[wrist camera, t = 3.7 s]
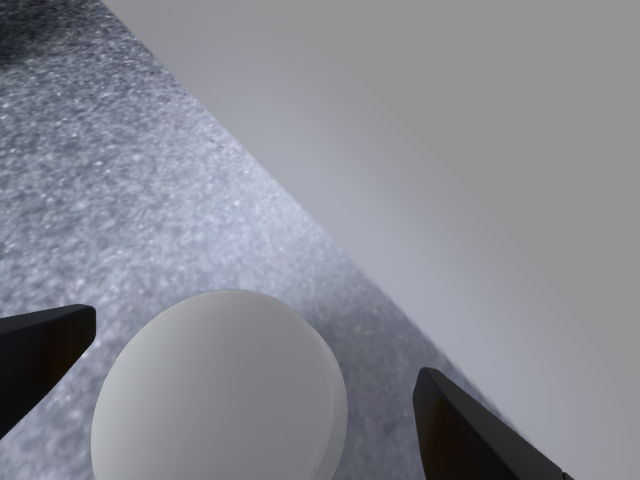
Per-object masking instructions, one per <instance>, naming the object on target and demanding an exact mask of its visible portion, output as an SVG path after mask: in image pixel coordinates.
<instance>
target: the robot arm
mask: <svg viewBox="0 0 640 480" xmlns="http://www.w3.org/2000/svg"><path fill="white" fill-rule="evenodd" d="M95 336H96V310H95V308H94V307H93V306H89V305H83V304H74V305H68V306H63V307H58V308H53V309H47V310H42V311H37V312H32V313H26V314H21V315H16V316H10V317H5V318H0V440H1V439H2V438H3V437H4V436H5V435H6V434H7V433H8V432H9V431H10V430H11V429H12V428H13V427H14V426H15V425H16V424H17V423H18V422H19V421H20V420H21V419H23V418H24V417H25V416H26V415H27V414H28V413H29V412H30V411H31V410H32V409H33V408H34V407H35V406H36V405H37V404H38V403H39V402H40V401H41V400H42V399H43V398H44V397H45V396H46V395H47V394H48V393H49V392H50V391H51V390H52V389H53V387H54V386H55V385H56V384H57V383H58V382H59V381H60V380H61V378H62V377H63V376H64V375H65V374H66V373H67V372H68V370H69V369H70V368H71V367H72V366H73V365H74V363H75V362H76V361H77V360H78V359H79V358H80V357H81V355H82V354H83V353H84V352H85V351H86V350H87V348H88V347H89V346H90V345H91V344H92V342H93V341H94V339H95ZM413 406H414V413H415V420H416V427H417V434H418V441H419V447H420V454H421V459H422V464H423V468H424V472H425V476H426V480H574V479H573V478H572V477H571V476H570V475H568V474H567V473H565V472H563V473H562V470H561V468H559V467H558V466H557V465H556V464H554V463H553V462H552V461H551V460H549V459H548V458H547V457H546V456H544V455H543V454H542V453H541V452H539V451H538V450H537V449H536V448H534V447H533V446H532V445H531V444H529V443H528V442H527V441H526V440H524V439H523V438H522V437H521V436H520V435H518V434H517V433H516V432H515V431H513V430H512V429H511V428H510V427H508V426H507V425H506V424H505V423H503V422H502V421H501V420H500V419H498V418H497V417H496V416H495V415H493V414H492V413H491V412H490V411H488V410H487V409H486V408H485V407H483V406H482V405H481V404H480V403H478V402H477V401H476V400H475V399H473V398H472V397H471V396H470V395H468V394H467V393H466V392H465V391H463V390H462V389H461V388H460V387H458V386H457V385H456V384H455V383H453V382H452V381H451V380H450V379H448V378H447V377H446V376H445V375H444V374H442V373H441V372H440V371H439V370H437V369H433V368H427V367H422V368H421V369H420V371H419V374H418V378H417V381H416V385H415V388H414V392H413Z"/></svg>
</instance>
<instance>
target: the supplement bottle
mask: <svg viewBox="0 0 640 480" xmlns="http://www.w3.org/2000/svg"><path fill="white" fill-rule="evenodd" d="M347 426H348V399H347V393H346V386H345V382H344V379H343V375H342V372H341V369H340V367H339V364H338V362H337V360H336V358H335V356H334V354H333V352H332V350H331V349H330V347H329V346H328V344H327V343H326V342H325V340H324V339H323V338H322V336H321V335H320V334H319V333H318V332H317V331H316V330H315V329H314V328H313V327H311V326H310V325H309V324H308V323H307V321H306V320H305V319H304V318H303V317H302V316H301V315H300V314H298V313H297V312H296V311H295V310H294V309H292V308H291V307H290V306H288V305H286V304H284V303H283V302H281V301H279V300H277V299H275V298H273V297H271V296H268V295H265V294H262V293H259V292H254V291H249V290H239V289H225V290H216V291H210V292H205V293H202V294H199V295H196V296H192V297H189V298H187V299H185V300H183V301H180V302H178V303H176V304H175V305H173V306H171V307H169V308H168V309H166V310H165V311H163V312H161V313H160V314H158V315H157V316H156V317H155V318H153V319H152V320H151V321H149V322H148V323H147V324H146V325H145V326H144V327H143V328H142V329H140V330H139V331H138V332H137V333H136V334H135V336H134V337H133V338H132V339H131V340H130V341H129V343H128V344H127V345H126V346H125V347H124V349H123V350H122V352H121V353H120V355H119V356H118V357H117V359H116V360H115V362H114V364H113V366H112V368H111V369H110V371H109V373H108V375H107V377H106V379H105V381H104V384H103V386H102V388H101V391H100V394H99V397H98V400H97V403H96V407H95V411H94V416H93V421H92V429H91V462H92V467H93V473H94V476H95V480H332V479H333V477H334V475H335V472H336V470H337V467H338V465H339V462H340V459H341V456H342V453H343V449H344V445H345V440H346V434H347Z"/></svg>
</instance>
